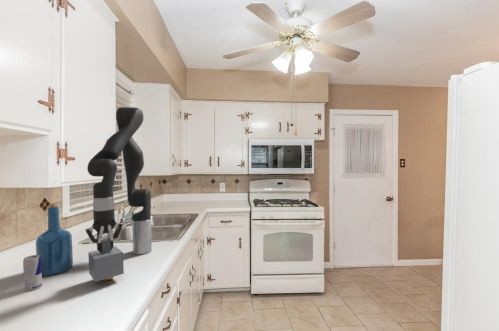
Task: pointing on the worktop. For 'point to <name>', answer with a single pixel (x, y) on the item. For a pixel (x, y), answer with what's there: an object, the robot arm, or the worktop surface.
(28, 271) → the energy drink
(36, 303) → the worktop surface
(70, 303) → the worktop surface
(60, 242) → the wine bottle
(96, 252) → the gray block with peg
